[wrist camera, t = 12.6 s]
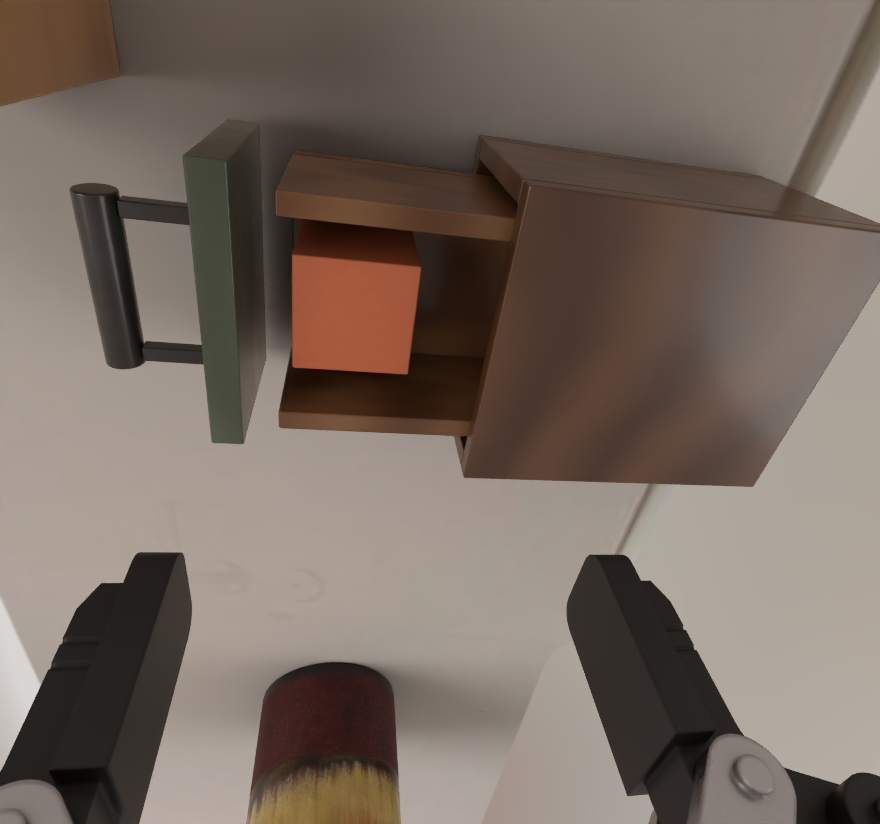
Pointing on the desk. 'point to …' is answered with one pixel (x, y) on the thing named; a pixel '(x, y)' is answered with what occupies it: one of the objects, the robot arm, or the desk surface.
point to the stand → (54, 46)
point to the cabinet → (657, 318)
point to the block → (353, 297)
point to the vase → (327, 749)
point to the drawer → (241, 252)
